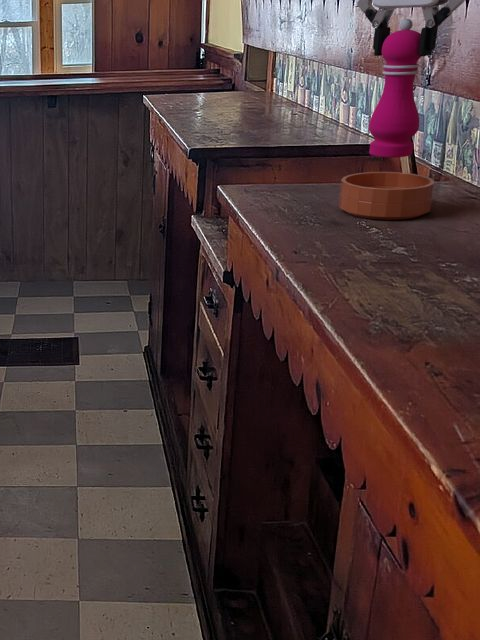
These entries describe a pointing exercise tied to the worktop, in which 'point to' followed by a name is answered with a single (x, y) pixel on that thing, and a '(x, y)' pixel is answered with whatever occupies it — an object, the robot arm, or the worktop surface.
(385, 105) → the pepper mill
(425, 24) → the robot arm
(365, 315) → the worktop surface
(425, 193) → the bowl
